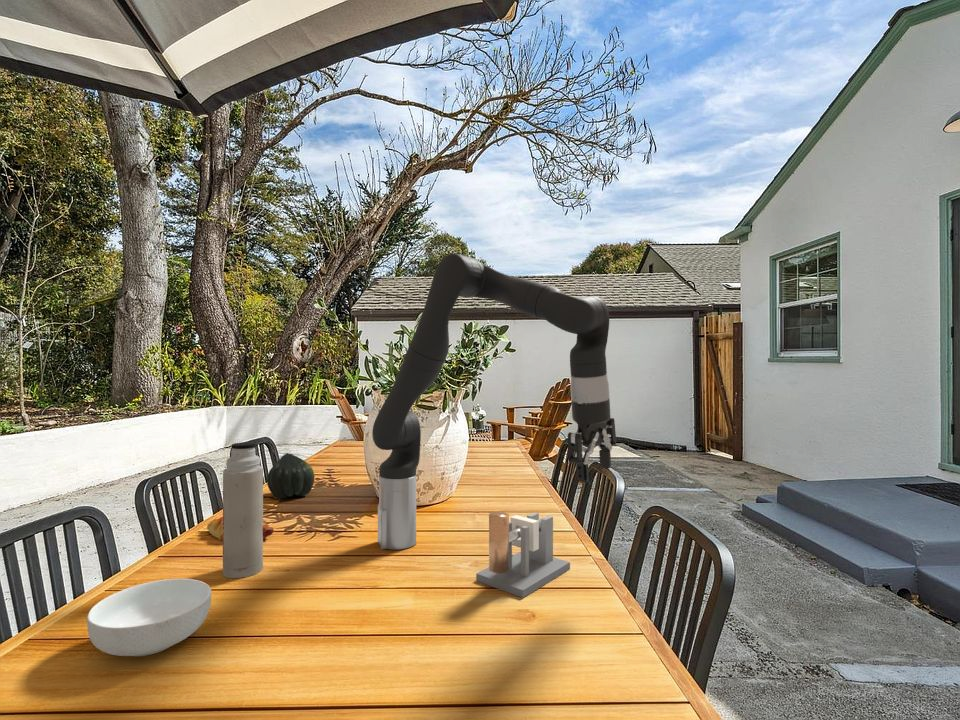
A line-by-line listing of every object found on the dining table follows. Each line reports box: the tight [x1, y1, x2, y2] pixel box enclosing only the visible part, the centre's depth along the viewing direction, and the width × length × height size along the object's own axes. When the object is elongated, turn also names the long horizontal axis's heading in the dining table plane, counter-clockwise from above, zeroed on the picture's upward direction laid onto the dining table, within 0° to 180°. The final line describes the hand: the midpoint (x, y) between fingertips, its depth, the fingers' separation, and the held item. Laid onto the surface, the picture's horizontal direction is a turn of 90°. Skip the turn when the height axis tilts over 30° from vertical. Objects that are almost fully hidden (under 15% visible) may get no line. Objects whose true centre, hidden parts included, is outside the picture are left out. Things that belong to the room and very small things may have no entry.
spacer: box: [510, 515, 539, 552], centre depth 109 cm, size 2×6×6 cm, turn 50°
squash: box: [266, 452, 315, 499], centre depth 172 cm, size 14×15×15 cm
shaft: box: [488, 511, 545, 573], centre depth 108 cm, size 19×4×11 cm, turn 140°
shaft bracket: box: [475, 511, 571, 599], centre depth 109 cm, size 18×12×12 cm, turn 140°
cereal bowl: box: [86, 578, 212, 657], centre depth 82 cm, size 17×17×7 cm
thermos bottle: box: [222, 441, 264, 579], centre depth 110 cm, size 8×8×28 cm
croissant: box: [206, 516, 274, 541], centre depth 133 cm, size 21×10×8 cm, turn 73°
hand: (594, 474), depth 103 cm, fingers open, 8 cm apart
